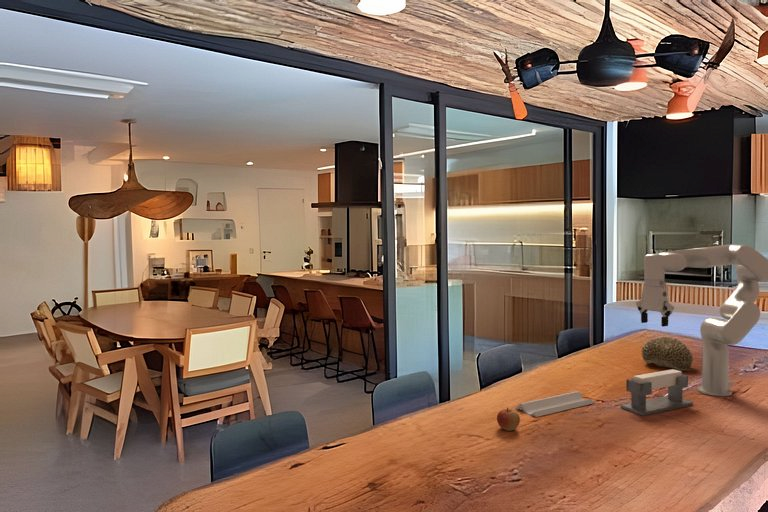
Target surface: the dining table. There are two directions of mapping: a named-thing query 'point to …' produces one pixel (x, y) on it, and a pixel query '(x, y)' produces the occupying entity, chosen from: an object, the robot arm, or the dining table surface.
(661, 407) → the bracket stand
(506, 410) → the apple
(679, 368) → the coral
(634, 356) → the dining table surface
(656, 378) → the rail
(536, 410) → the crown molding
